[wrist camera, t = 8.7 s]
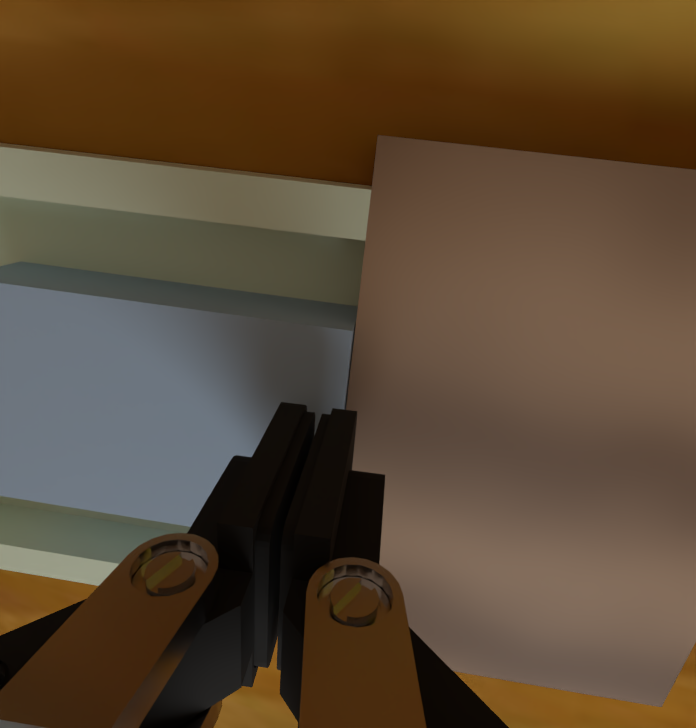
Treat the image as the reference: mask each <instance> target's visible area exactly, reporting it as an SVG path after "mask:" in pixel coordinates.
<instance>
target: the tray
mask: <svg viewBox="0 0 696 728" xmlns="http://www.w3.org/2000/svg"><path fill="white" fill-rule="evenodd" d="M371 189H372V186H368V185H360V184H351V183H343V182H334V181H325V180H317V179H308V178H299V177H291V176H282V175H274V174H265V173H256V172H248V171H239V170H230V169H222V168H213V167H205V166H196V165H187V164H179V163H170V162H162V161H153V160H144V159H136V158H127V157H118V156H110V155H101V154H93V153H84V152H75V151H67V150H58V149H49V148H41V147H32V146H24V145H15V144H6V143H0V266H4V265H8V264H12V263H16V262H20V261H21V262H28V263H36V264H43V265H51V266H58V267H66V268H73V269H81V270H88V271H96V272H103V273H111V274H118V275H126V276H133V277H141V278H148V279H156V280H163V281H171V282H179V283H186V284H194V285H201V286H209V287H216V288H224V289H231V290H239V291H246V292H254V293H261V294H269V295H276V296H284V297H291V298H299V299H306V300H314V301H321V302H329V303H336V304H344V305H351V306H358V301H359V292H360V284H361V275H362V266H363V258H364V249H365V241H366V232H367V223H368V215H369V206H370V198H371ZM189 529H190V527H188V526H182V525H176V524H170V523H164V522H158V521H151V520H145V519H139V518H133V517H127V516H121V515H115V514H108V513H102V512H96V511H90V510H84V509H78V508H72V507H65V506H59V505H53V504H47V503H41V502H35V501H29V500H22V499H16V498H10V497H4V496H0V569H4V570H10V571H16V572H21V573H27V574H33V575H39V576H45V577H51V578H57V579H63V580H68V581H74V582H80V583H86V584H92V585H98V586H99V585H100V584H101V583H102V582H103V581H104V580H105V579H106V578H107V577H108V576H109V575H110V573H111V572H112V571H113V570H114V569H115V568H116V567H117V566H118V565H119V564H120V563H121V562H122V561H123V560H124V559H125V558H126V556H127V555H128V554H129V553H131V552H132V551H133V550H134V549H135V548H137V547H138V546H139V545H141V544H143V543H145V542H147V541H148V540H150V539H152V538H155V537H159V536H162V535H166V534H173V533H187V532H188V531H189Z"/></svg>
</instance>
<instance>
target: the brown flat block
mask: <svg viewBox="0 0 696 728" xmlns="http://www.w3.org/2000/svg"><path fill="white" fill-rule="evenodd" d="M346 410H352V411H357V423H356V434H355V444H354V454H353V464H352V470H354V471H362V472H369V473H377V474H385V488H384V503H383V518H382V532H381V547H380V561H379V564H380V565H381V566H382V567H384V568H385V569H387V570H388V571H389V572H391V574H392V575H393V576H394V577H395V579H396V580H397V581H398V582H399V585H400V587H401V590H402V593H403V596H404V602H405V608H406V614H407V619H408V625H409V627H410V628H411V629H412V630H413V631H414V632H415V633H416V634H417V635H418V636H419V637H420V638H421V639H422V640H423V641H424V642H425V643H426V644H427V645H428V646H429V647H430V648H431V649H432V650H433V651H434V652H435V654H436V655H437V656H438V657H439V658H440V659H441V660H442V661H443V662H444V663H445V664H446V665H447V666H448V667H449V668H450V669H451V670H452V671H456V672H462V673H468V674H473V675H479V676H485V677H491V678H496V679H502V680H508V681H514V682H520V683H525V684H531V685H537V686H543V687H548V688H554V689H560V690H566V691H571V692H577V693H583V694H589V695H595V696H600V697H606V698H612V699H618V700H623V701H629V702H635V703H641V704H646V705H652V706H658V707H662V705H663V703H664V701H665V699H666V697H667V695H668V693H669V692H670V690H671V688H672V686H673V684H674V682H675V680H676V678H677V676H678V674H679V673H680V671H681V669H682V667H683V665H684V663H685V661H686V659H687V657H688V655H689V653H690V652H691V650H692V648H693V646H694V644H695V642H696V170H693V169H684V168H675V167H666V166H656V165H647V164H638V163H629V162H620V161H611V160H602V159H593V158H584V157H574V156H565V155H556V154H547V153H538V152H529V151H520V150H511V149H501V148H492V147H483V146H474V145H465V144H456V143H447V142H438V141H429V140H419V139H410V138H401V137H392V136H383V135H378V137H377V146H376V154H375V163H374V172H373V180H372V189H371V198H370V206H369V215H368V223H367V232H366V241H365V249H364V258H363V266H362V275H361V284H360V292H359V301H358V309H357V318H356V327H355V335H354V344H353V353H352V361H351V370H350V378H349V387H348V396H347V404H346Z"/></svg>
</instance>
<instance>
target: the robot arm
mask: <svg viewBox="0 0 696 728" xmlns="http://www.w3.org/2000/svg"><path fill="white" fill-rule="evenodd" d="M356 423H357V411H352V410H344V409H335V408H333V409H332V411H331V414H322V415H321V418H320V421H319V424H318V427H317V430H316V433H315V436H314V432H315V412H307V406H306V405H303V404H294V403H286V402H281V403H280V405H279V407H278V409H277V410H276V412H275V414H274V416H273V418H272V420H271V422H270V424H269V426H268V427H267V429H266V431H265V433H264V435H263V437H262V439H261V441H260V443H259V444H258V446H257V448H256V450H255V452H254V454H253V456H252V457H247V456H239V455H236V456H233V458H232V459H231V460H230V462H229V464H228V465H227V467H226V469H225V470H224V472H223V474H222V475H221V477H220V479H219V480H218V482H217V484H216V485H215V487H214V489H213V490H212V492H211V494H210V496H209V497H208V499H207V501H206V502H205V504H204V506H203V507H202V509H201V511H200V512H199V514H198V516H197V517H196V519H195V521H194V522H193V524H192V526H191V527H190V529H189V531H188V532H187V533H173V534H166V535H162V536H159V537H155V538H152V539H150V540H148V541H147V542H145V543H143V544H141V545H139V546H138V547H137V548H135V549H134V550H133V551H132V552H131V553H129V554H128V555H127V556H126V558H125V559H124V560H123V561H122V562H121V563H120V564H119V565H118V566H117V567H116V568H115V569H114V570H113V571H112V572H111V573H110V575H109V576H108V577H107V578H106V579H105V580H104V581H103V582H102V583H101V584H100V585H99V586H98V587H97V588H96V589H95V590H94V592H93V593H92V594H91V595H90V596H89V597H88V598H87V599H85V600H83V601H80V602H78V603H76V604H73V605H71V606H69V607H66V608H64V609H62V610H59V611H57V612H55V613H52V614H50V615H48V616H45V617H43V618H41V619H38V620H36V621H34V622H31V623H29V624H27V625H24V626H22V627H20V628H17V629H15V630H13V631H10V632H8V633H6V634H3V635H1V636H0V728H213V727H214V725H215V723H216V721H217V719H218V717H219V714H220V711H221V708H222V699H224V698H225V697H227V696H228V695H230V694H232V693H233V692H235V691H236V690H238V689H239V688H241V686H247V687H252V686H253V683H254V679H255V676H256V672H257V669H258V666H259V667H266V668H268V667H269V665H270V662H271V658H272V655H273V651H274V647H275V644H276V640H277V637H278V651H277V669H278V670H281V679H280V695H281V696H282V698H283V699H284V701H285V702H286V704H287V705H288V707H289V709H290V710H291V712H292V713H293V715H294V716H295V718H296V719H297V721H298V728H509V727H508V726H507V725H506V724H505V723H504V722H503V721H502V720H501V719H500V718H499V717H498V716H497V715H496V714H495V713H494V712H493V711H492V710H491V709H490V708H489V707H488V706H487V705H486V704H485V703H484V702H483V701H482V700H481V699H480V698H479V697H478V696H477V695H476V694H475V693H474V692H473V691H472V690H471V689H470V688H469V687H468V686H467V685H466V684H465V683H464V682H463V681H462V680H461V679H460V678H459V677H458V676H457V675H456V674H455V673H454V672H453V671H452V670H451V669H450V668H449V667H448V666H447V665H446V664H445V663H444V662H443V661H442V660H441V659H440V658H439V657H438V656H437V655H436V654H435V652H434V651H433V650H432V649H431V648H430V647H429V646H428V645H427V644H426V643H425V642H424V641H423V640H422V639H421V638H420V637H419V636H418V635H417V634H416V633H415V632H414V631H413V630H412V629H411V628H410V627H409V625H408V619H407V614H406V608H405V602H404V596H403V593H402V590H401V587H400V585H399V582H398V581H397V580H396V579H395V577H394V576H393V575H392V574H391V572H389V571H388V570H387V569H385V568H384V567H382V566H381V565H380V564H379V561H380V547H381V532H382V518H383V503H384V488H385V474H377V473H369V472H362V471H354V470H352V464H353V454H354V444H355V434H356Z"/></svg>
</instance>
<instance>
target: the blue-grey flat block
mask: <svg viewBox="0 0 696 728" xmlns="http://www.w3.org/2000/svg"><path fill="white" fill-rule="evenodd" d="M357 309H358V306H351V305H344V304H336V303H329V302H321V301H314V300H306V299H299V298H291V297H284V296H276V295H269V294H261V293H254V292H246V291H239V290H231V289H224V288H216V287H209V286H201V285H194V284H186V283H179V282H171V281H163V280H156V279H148V278H141V277H133V276H126V275H118V274H111V273H103V272H96V271H88V270H81V269H73V268H66V267H58V266H51V265H43V264H36V263H28V262H21V261H20V262H16V263H12V264H8V265H4V266H0V496H4V497H10V498H16V499H22V500H29V501H35V502H41V503H47V504H53V505H59V506H65V507H72V508H78V509H84V510H90V511H96V512H102V513H108V514H115V515H121V516H127V517H133V518H139V519H145V520H151V521H158V522H164V523H170V524H176V525H182V526H188V527H191V526H192V524H193V522H194V521H195V519H196V517H197V516H198V514H199V512H200V511H201V509H202V507H203V506H204V504H205V502H206V501H207V499H208V497H209V496H210V494H211V492H212V490H213V489H214V487H215V485H216V484H217V482H218V480H219V479H220V477H221V475H222V474H223V472H224V470H225V469H226V467H227V465H228V464H229V462H230V460H231V459H232V458H233V456H236V455H239V456H247V457H252V456H253V454H254V452H255V450H256V448H257V446H258V444H259V443H260V441H261V439H262V437H263V435H264V433H265V431H266V429H267V427H268V426H269V424H270V422H271V420H272V418H273V416H274V414H275V412H276V410H277V409H278V407H279V405H280V403H281V402H286V403H294V404H303V405H306V406H307V412H315V432H314V436H315V433H316V430H317V427H318V424H319V421H320V418H321V415H322V414H331V411H332V409H333V408H335V409H344V410H346V404H347V396H348V387H349V378H350V370H351V361H352V353H353V344H354V335H355V327H356V318H357Z"/></svg>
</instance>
